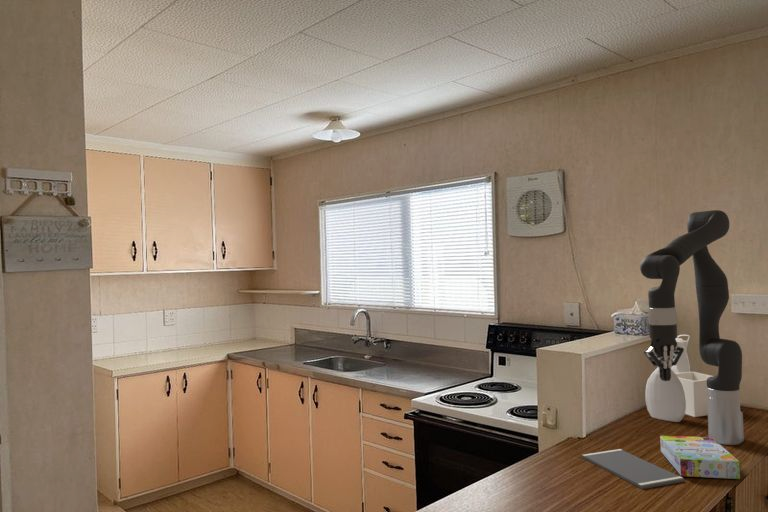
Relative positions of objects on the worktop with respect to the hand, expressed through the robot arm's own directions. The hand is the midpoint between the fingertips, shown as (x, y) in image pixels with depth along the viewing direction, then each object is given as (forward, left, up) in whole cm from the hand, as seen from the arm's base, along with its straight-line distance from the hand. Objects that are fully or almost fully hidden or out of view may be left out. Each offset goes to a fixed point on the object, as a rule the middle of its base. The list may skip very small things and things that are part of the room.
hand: (665, 380), depth 169 cm
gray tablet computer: (+14, 0, -24) cm, 28 cm away
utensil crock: (-48, -38, -24) cm, 66 cm away
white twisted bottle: (-55, -51, -25) cm, 79 cm away
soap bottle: (-31, -34, -25) cm, 53 cm away
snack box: (+1, +1, -22) cm, 22 cm away
